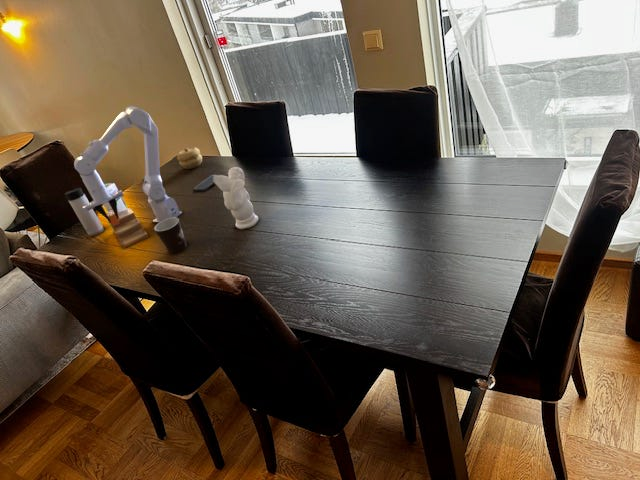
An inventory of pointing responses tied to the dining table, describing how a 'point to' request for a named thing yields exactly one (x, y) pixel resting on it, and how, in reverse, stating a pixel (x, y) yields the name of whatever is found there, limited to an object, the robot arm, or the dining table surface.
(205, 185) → the cell phone
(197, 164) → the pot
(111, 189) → the syrup box
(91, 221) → the travel mug
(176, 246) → the coffee mug
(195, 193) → the dining table surface
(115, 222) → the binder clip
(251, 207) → the cherub figurine
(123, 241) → the step shelf
